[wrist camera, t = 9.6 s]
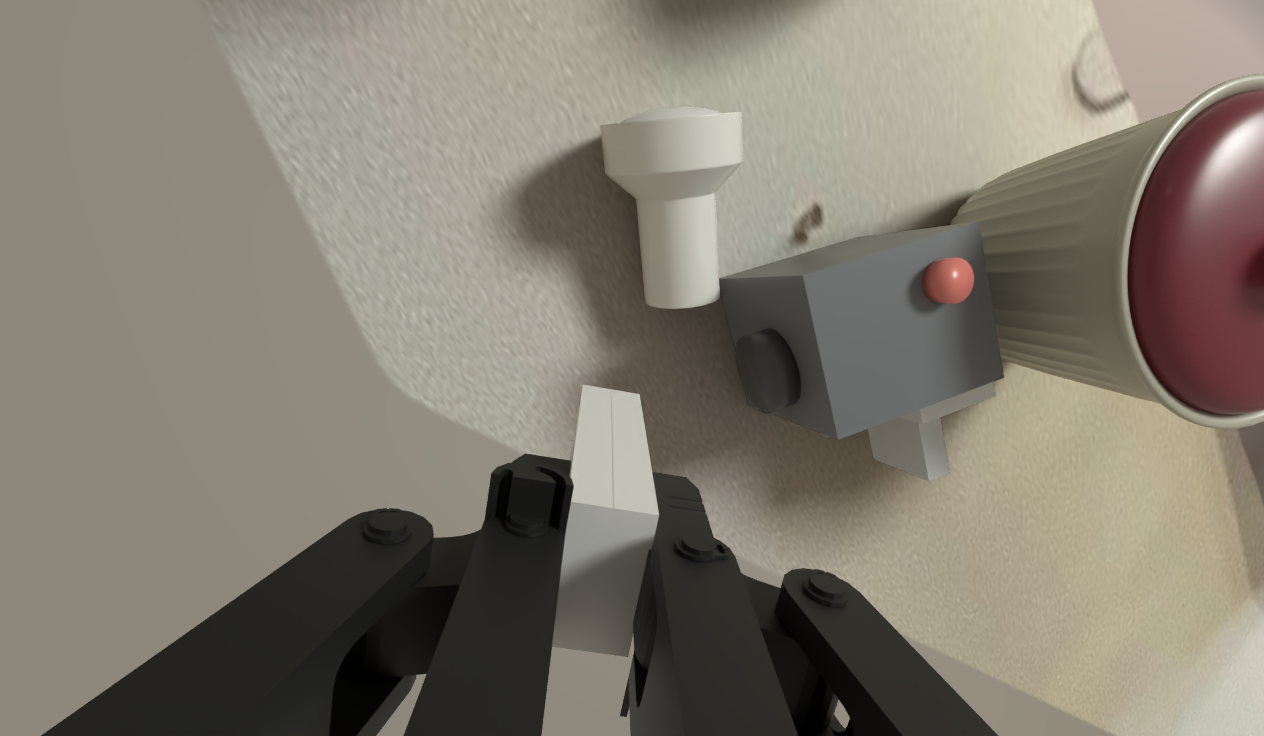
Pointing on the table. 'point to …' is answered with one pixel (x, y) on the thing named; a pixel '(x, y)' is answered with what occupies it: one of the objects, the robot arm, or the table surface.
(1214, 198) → the canister
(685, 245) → the spotlight
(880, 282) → the camera case
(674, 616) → the robot arm
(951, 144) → the table surface
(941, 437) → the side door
